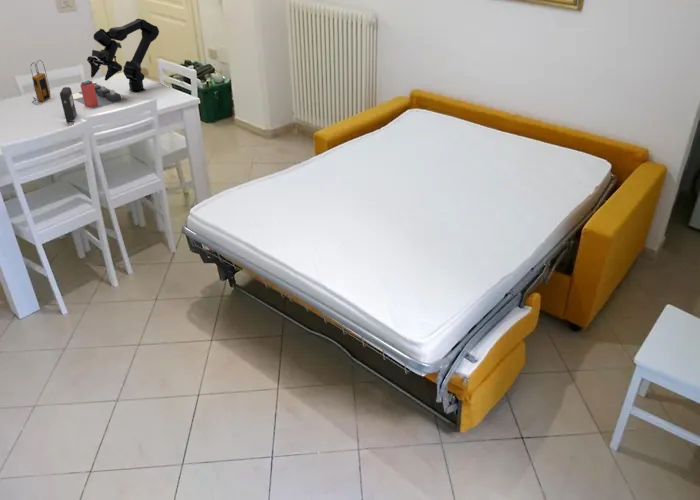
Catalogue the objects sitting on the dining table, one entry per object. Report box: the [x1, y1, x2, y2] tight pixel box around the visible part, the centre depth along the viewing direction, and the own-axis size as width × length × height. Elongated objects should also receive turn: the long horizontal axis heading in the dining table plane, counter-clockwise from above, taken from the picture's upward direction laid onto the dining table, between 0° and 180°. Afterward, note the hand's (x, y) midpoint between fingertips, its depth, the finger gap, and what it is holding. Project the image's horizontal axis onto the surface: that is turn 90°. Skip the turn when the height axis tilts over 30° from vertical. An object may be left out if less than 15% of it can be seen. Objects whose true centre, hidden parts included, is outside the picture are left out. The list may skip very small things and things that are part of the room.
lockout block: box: [80, 79, 98, 109], centre depth 296 cm, size 5×4×12 cm
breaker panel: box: [72, 81, 129, 110], centre depth 308 cm, size 22×28×6 cm
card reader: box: [59, 86, 78, 124], centre depth 282 cm, size 9×4×15 cm, turn 12°
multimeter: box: [30, 59, 51, 105], centre depth 303 cm, size 15×10×20 cm
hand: (98, 78), depth 299 cm, fingers open, 9 cm apart
